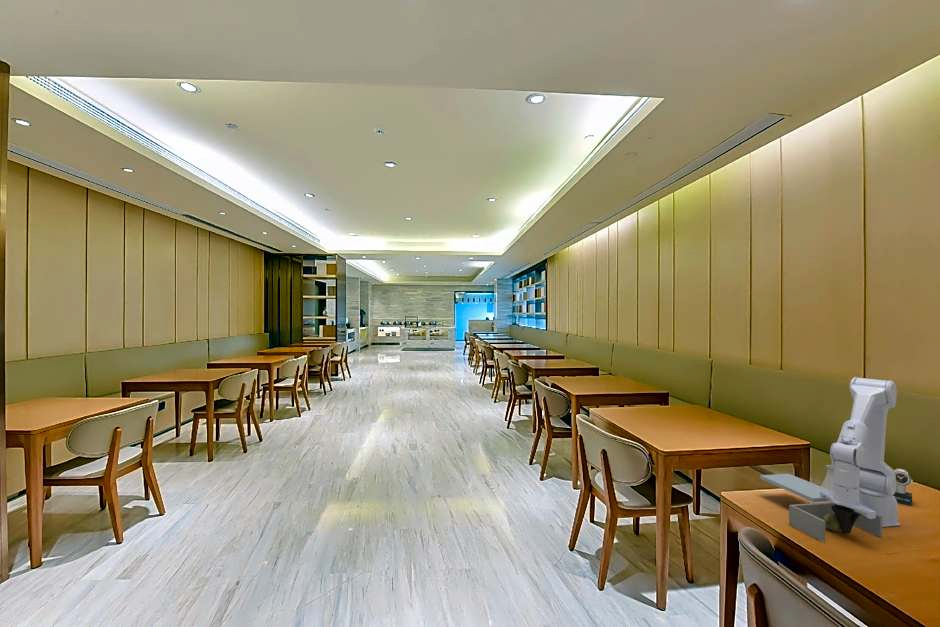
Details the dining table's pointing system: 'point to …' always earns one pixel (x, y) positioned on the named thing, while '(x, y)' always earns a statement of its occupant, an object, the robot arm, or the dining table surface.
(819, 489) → the cover
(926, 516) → the dining table surface
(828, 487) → the flask
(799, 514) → the grey angular open frame
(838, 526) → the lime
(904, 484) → the watch
